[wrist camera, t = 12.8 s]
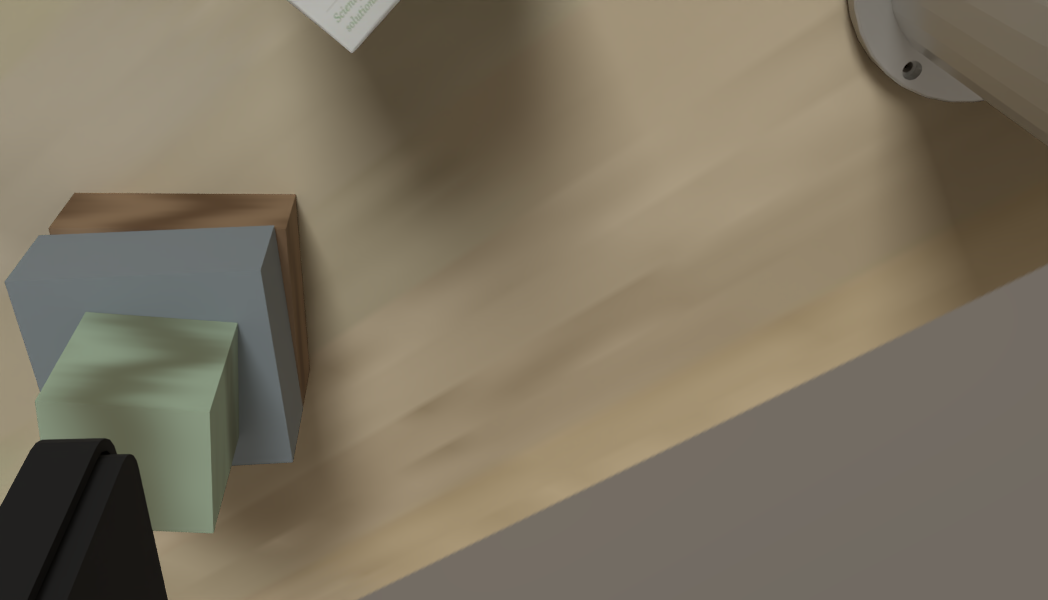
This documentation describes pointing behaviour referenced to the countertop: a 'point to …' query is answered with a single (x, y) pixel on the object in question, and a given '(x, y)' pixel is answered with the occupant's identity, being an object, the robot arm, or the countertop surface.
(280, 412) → the slab top
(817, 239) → the countertop surface
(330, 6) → the skincare box
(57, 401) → the sage block
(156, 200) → the slab bottom
